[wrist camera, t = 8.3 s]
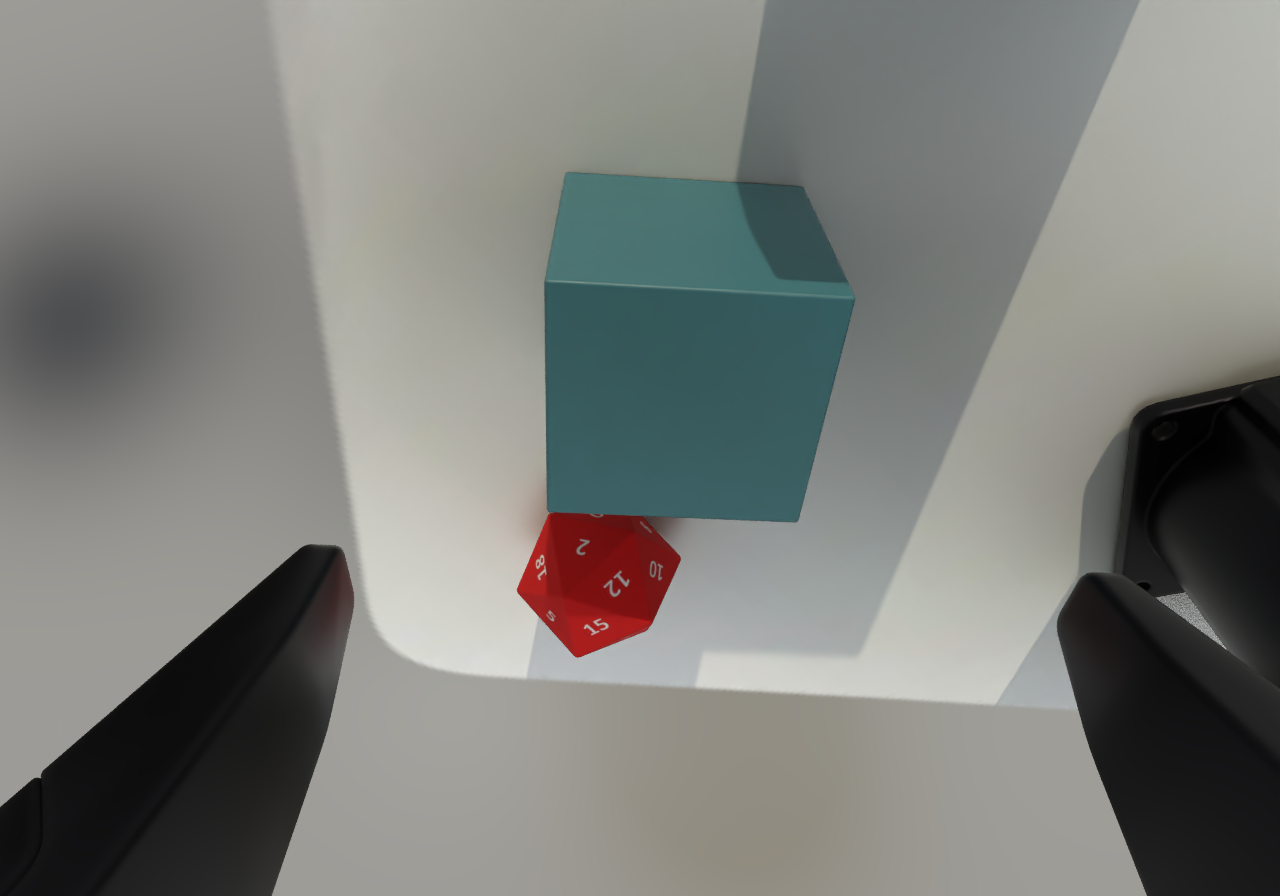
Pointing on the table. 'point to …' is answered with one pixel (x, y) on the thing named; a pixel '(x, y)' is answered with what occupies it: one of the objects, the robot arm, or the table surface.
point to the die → (597, 578)
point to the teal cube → (688, 347)
